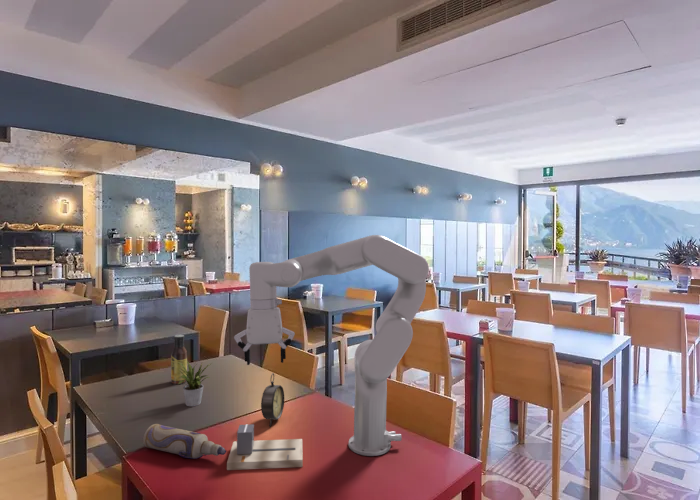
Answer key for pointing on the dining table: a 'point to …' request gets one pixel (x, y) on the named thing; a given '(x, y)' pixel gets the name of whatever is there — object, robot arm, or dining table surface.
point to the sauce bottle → (178, 359)
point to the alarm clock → (272, 402)
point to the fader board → (268, 455)
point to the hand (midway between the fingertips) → (265, 362)
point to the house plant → (192, 385)
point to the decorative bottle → (180, 442)
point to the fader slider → (245, 439)
